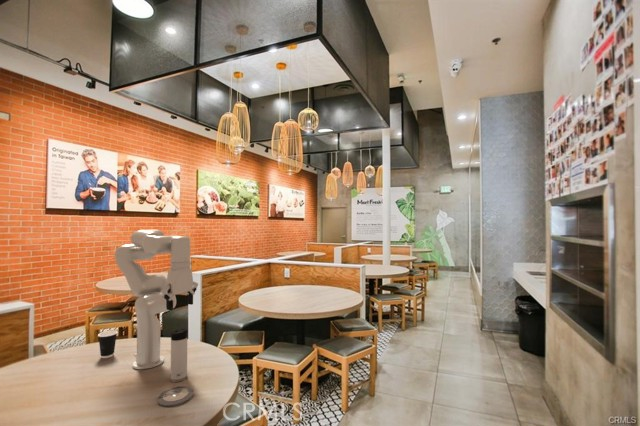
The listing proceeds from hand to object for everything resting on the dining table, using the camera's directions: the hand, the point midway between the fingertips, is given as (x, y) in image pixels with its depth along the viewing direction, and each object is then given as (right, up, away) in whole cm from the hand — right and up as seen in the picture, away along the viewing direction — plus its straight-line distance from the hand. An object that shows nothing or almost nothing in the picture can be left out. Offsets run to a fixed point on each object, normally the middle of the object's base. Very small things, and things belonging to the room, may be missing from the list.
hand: (180, 306), depth 129 cm
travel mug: (0, -30, -1) cm, 30 cm away
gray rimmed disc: (+5, -29, -15) cm, 33 cm away
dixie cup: (-46, -31, +22) cm, 59 cm away
